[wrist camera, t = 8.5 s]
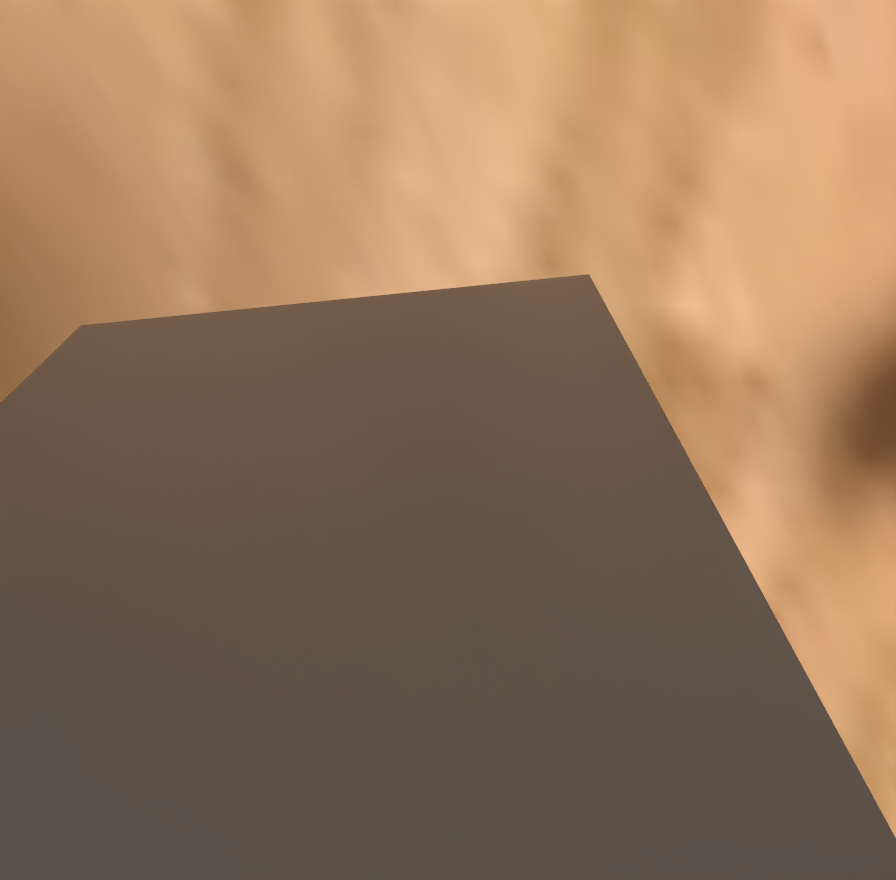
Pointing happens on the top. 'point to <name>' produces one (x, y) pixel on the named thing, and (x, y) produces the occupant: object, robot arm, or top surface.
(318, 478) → the grey rectangular block
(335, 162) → the top surface
